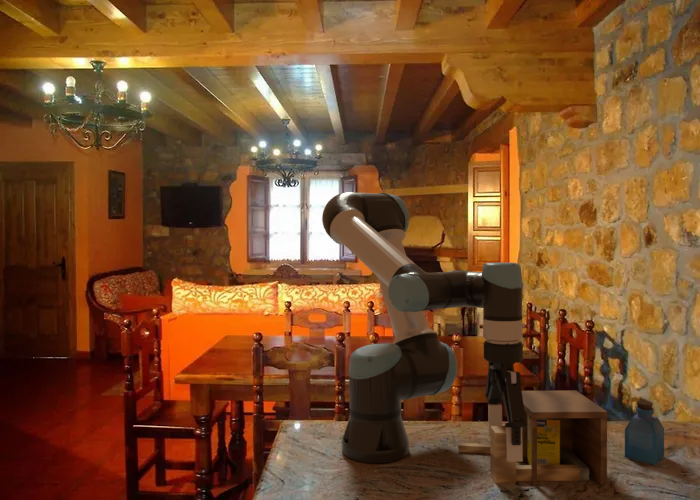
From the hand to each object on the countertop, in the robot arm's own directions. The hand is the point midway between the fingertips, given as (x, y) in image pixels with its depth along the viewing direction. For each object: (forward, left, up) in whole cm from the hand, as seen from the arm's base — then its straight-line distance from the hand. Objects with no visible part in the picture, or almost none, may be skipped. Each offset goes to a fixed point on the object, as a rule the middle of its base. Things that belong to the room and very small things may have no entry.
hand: (504, 447), depth 111 cm
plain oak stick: (-7, +12, -7) cm, 16 cm away
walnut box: (+8, +10, -6) cm, 15 cm away
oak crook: (+4, +7, -6) cm, 11 cm away
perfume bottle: (+24, +26, -7) cm, 36 cm away
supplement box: (+5, +10, -7) cm, 13 cm away
